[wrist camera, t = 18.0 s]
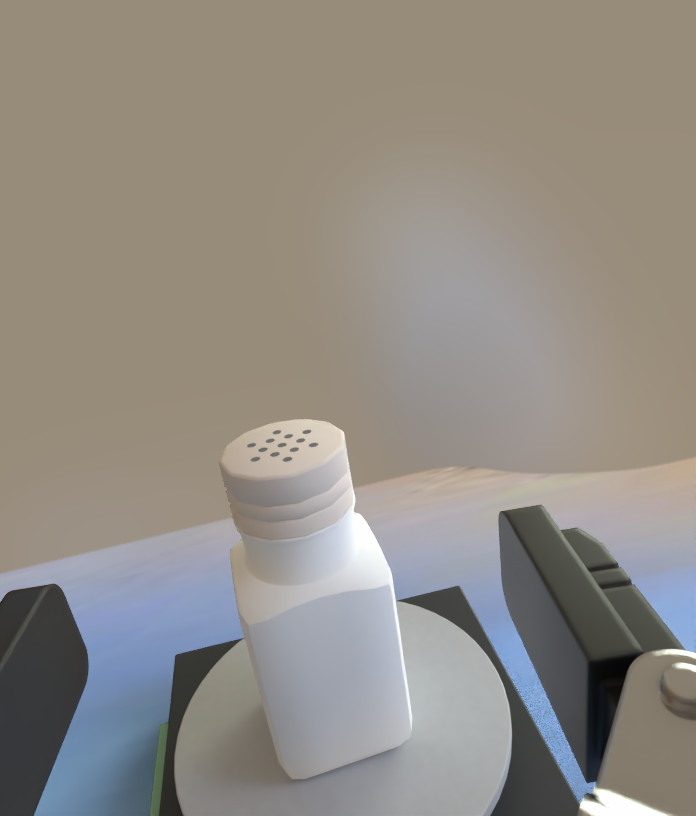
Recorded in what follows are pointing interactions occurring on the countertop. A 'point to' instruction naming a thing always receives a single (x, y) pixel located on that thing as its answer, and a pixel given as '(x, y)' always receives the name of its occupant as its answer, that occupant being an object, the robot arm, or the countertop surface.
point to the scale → (379, 774)
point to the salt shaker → (314, 599)
